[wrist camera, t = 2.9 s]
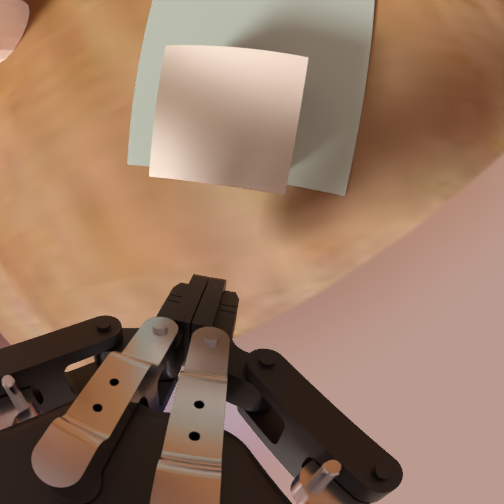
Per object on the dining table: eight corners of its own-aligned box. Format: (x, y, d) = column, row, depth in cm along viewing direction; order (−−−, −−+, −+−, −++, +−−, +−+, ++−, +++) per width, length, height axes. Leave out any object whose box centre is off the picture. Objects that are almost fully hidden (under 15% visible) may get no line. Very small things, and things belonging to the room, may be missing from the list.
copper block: (198, 69, 13) (165, 45, 8) (297, 80, 13) (308, 57, 8) (186, 160, 15) (149, 176, 10) (281, 174, 15) (285, 195, 10)
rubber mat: (184, -83, 8) (182, -85, 8) (375, -64, 8) (376, -66, 8) (129, 163, 15) (127, 164, 15) (343, 194, 15) (344, 196, 15)
